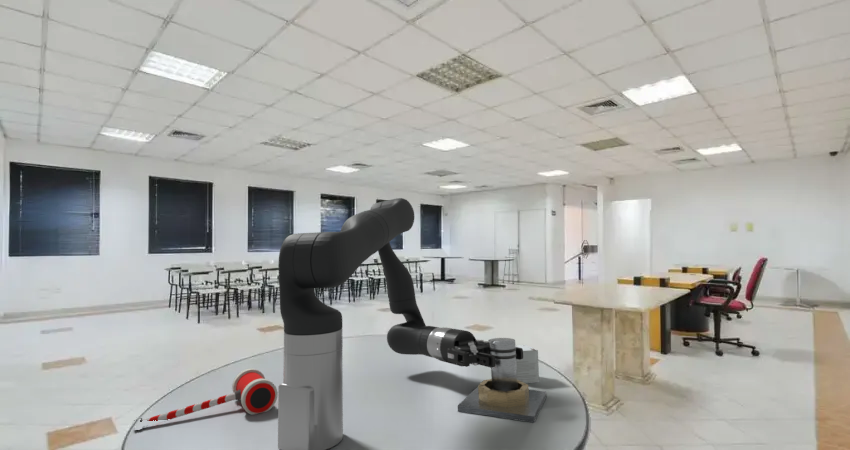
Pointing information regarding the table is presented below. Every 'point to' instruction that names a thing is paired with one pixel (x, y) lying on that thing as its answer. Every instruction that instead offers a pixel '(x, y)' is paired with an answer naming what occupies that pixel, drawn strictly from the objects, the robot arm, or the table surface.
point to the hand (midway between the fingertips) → (508, 357)
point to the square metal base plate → (504, 402)
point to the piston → (504, 364)
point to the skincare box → (528, 365)
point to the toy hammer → (236, 396)
